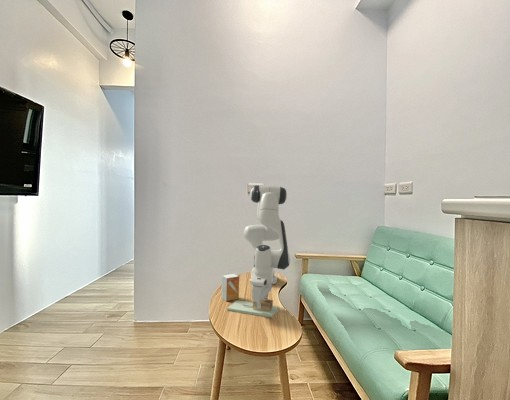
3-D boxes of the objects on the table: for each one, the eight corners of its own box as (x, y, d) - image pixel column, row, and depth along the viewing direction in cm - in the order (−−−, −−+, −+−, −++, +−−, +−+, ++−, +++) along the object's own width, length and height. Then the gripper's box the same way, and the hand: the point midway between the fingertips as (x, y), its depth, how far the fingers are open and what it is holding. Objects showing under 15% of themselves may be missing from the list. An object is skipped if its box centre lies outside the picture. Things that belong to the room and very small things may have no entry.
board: (236, 302, 161) (236, 299, 161) (279, 308, 153) (279, 306, 153) (227, 310, 150) (227, 307, 150) (272, 317, 142) (272, 315, 142)
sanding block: (256, 305, 154) (256, 297, 154) (272, 307, 151) (272, 300, 150) (252, 308, 149) (252, 301, 149) (269, 311, 146) (269, 303, 146)
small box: (226, 301, 162) (226, 278, 162) (221, 298, 168) (221, 275, 167) (239, 298, 167) (239, 276, 167) (233, 295, 172) (233, 273, 172)
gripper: (263, 272, 160) (263, 297, 161) (249, 282, 141) (249, 311, 141) (274, 273, 158) (274, 298, 158) (262, 284, 139) (262, 313, 139)
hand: (262, 304), depth 150 cm, fingers open, 8 cm apart
